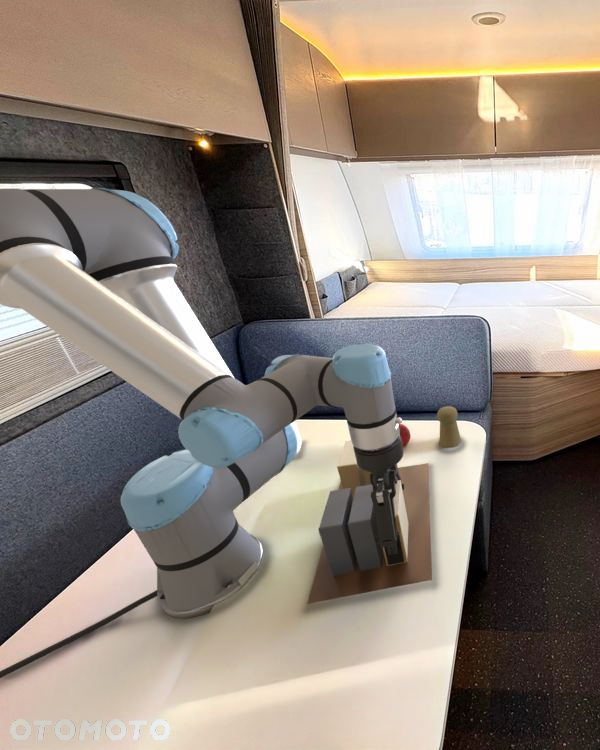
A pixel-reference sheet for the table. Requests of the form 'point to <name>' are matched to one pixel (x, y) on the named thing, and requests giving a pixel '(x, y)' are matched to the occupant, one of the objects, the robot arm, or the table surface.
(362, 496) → the grey rectangular block
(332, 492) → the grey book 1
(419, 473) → the shelf board
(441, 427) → the olive pawn
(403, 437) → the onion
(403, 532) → the cream book
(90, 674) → the table surface
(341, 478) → the cream book
